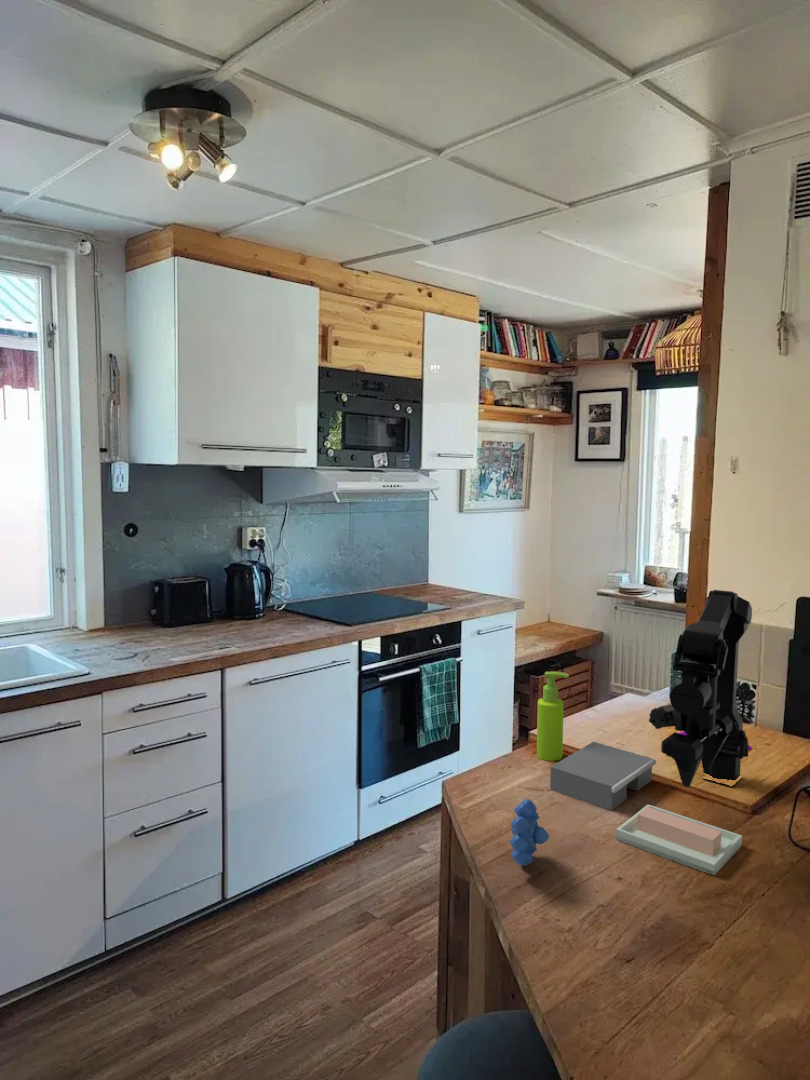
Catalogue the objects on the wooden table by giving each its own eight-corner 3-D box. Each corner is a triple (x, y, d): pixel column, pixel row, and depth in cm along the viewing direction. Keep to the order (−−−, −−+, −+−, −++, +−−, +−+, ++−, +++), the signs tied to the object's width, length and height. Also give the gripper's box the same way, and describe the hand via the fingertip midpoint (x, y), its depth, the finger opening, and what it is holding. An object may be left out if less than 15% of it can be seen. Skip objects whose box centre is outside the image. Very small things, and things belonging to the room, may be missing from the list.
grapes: (542, 888, 129) (543, 819, 127) (502, 879, 131) (502, 812, 129) (555, 852, 139) (556, 789, 138) (518, 845, 142) (519, 783, 140)
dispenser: (655, 781, 167) (656, 759, 166) (615, 812, 154) (615, 788, 153) (593, 762, 177) (593, 741, 176) (550, 789, 164) (550, 766, 163)
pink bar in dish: (720, 847, 139) (721, 831, 139) (712, 856, 136) (713, 840, 136) (646, 821, 149) (647, 806, 148) (637, 829, 146) (637, 814, 145)
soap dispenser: (566, 762, 177) (568, 677, 175) (536, 759, 179) (537, 675, 176) (566, 752, 183) (568, 669, 180) (537, 749, 185) (538, 668, 182)
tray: (741, 845, 141) (742, 835, 141) (713, 875, 132) (714, 864, 131) (647, 813, 153) (647, 804, 153) (615, 839, 144) (616, 829, 143)
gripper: (677, 675, 155) (675, 749, 157) (635, 701, 141) (632, 782, 144) (735, 687, 147) (731, 765, 150) (695, 716, 134) (692, 801, 136)
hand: (696, 777), depth 145 cm, fingers open, 9 cm apart
